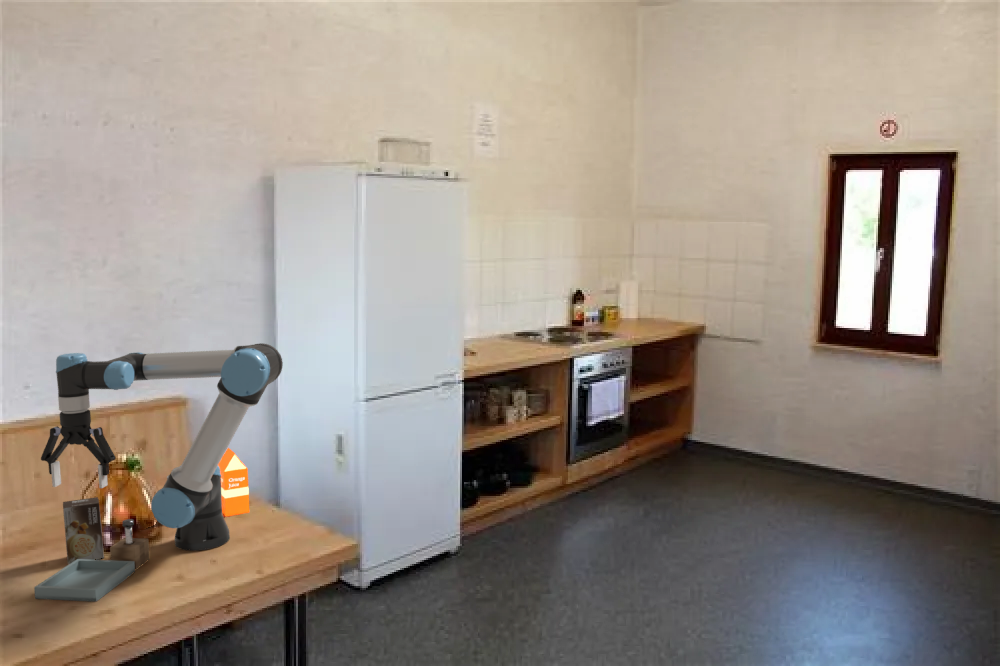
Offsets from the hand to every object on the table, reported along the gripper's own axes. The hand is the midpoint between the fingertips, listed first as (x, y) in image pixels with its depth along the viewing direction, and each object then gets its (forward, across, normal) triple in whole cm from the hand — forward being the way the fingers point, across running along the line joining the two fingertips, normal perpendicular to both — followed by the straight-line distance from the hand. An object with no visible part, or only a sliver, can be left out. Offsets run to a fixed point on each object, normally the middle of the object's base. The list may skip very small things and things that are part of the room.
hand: (80, 486), depth 234 cm
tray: (+20, -11, +17) cm, 29 cm away
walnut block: (+20, -15, +3) cm, 26 cm away
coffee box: (+21, 0, 0) cm, 21 cm away
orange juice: (+21, -25, -42) cm, 53 cm away
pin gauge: (+20, -15, +3) cm, 26 cm away
